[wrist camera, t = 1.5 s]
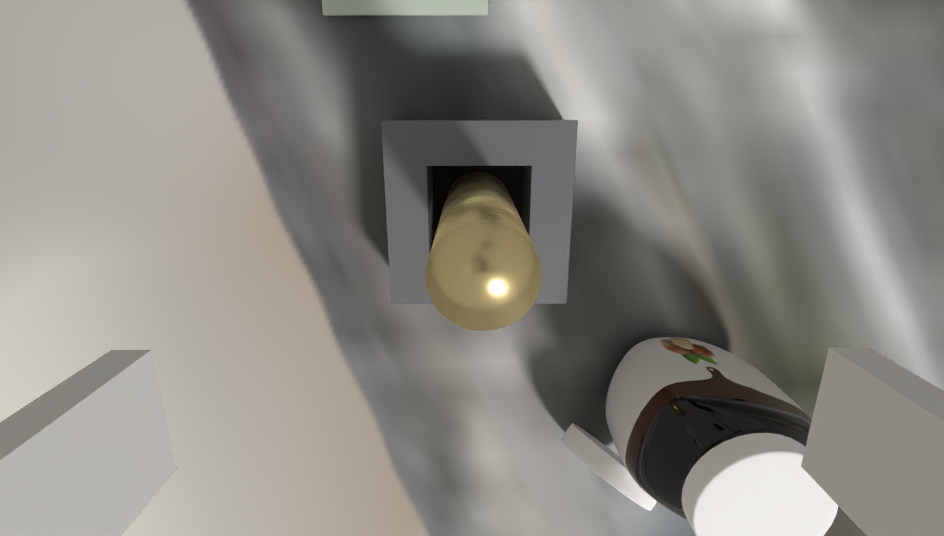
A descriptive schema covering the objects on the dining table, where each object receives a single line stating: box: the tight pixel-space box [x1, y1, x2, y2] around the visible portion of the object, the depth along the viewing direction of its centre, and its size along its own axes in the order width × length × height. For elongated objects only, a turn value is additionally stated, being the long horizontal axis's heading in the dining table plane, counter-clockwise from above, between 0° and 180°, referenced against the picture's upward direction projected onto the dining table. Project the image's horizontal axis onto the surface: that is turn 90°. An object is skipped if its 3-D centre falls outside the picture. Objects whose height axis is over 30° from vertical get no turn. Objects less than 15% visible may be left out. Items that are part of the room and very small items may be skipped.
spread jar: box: [561, 335, 838, 536], centre depth 29 cm, size 12×11×12 cm
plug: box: [426, 171, 542, 331], centre depth 23 cm, size 4×4×14 cm
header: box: [381, 120, 578, 304], centre depth 28 cm, size 10×10×4 cm
